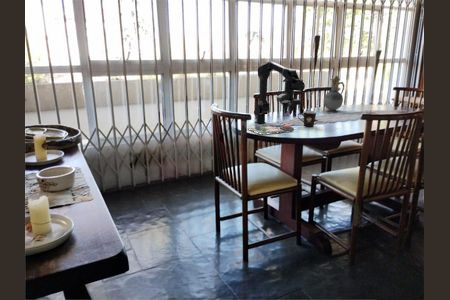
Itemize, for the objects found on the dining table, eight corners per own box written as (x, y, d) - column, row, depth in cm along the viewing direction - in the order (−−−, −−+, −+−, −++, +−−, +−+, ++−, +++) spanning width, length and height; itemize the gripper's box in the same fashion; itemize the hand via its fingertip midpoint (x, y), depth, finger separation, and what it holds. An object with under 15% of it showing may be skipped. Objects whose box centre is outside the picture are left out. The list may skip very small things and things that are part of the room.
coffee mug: (317, 126, 225) (318, 112, 222) (311, 128, 219) (312, 113, 216) (302, 123, 233) (303, 109, 230) (296, 125, 226) (297, 111, 223)
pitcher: (320, 110, 281) (324, 75, 272) (336, 109, 290) (340, 74, 281) (330, 113, 272) (334, 76, 263) (346, 111, 281) (350, 75, 272)
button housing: (279, 129, 214) (280, 126, 214) (287, 128, 217) (287, 125, 217) (285, 132, 209) (285, 129, 208) (293, 130, 212) (293, 128, 211)
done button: (281, 128, 214) (282, 125, 213) (287, 127, 216) (287, 124, 215) (286, 129, 210) (286, 126, 209) (291, 129, 212) (292, 126, 211)
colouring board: (247, 129, 214) (247, 127, 214) (270, 127, 222) (270, 125, 221) (260, 135, 201) (260, 133, 200) (284, 132, 208) (284, 130, 208)
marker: (255, 128, 212) (255, 125, 212) (258, 128, 213) (258, 124, 213) (262, 131, 205) (262, 128, 204) (265, 131, 206) (265, 127, 205)
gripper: (270, 88, 210) (269, 112, 214) (288, 91, 194) (286, 117, 198) (284, 87, 214) (283, 111, 219) (302, 91, 199) (300, 116, 203)
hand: (287, 113), depth 210 cm, fingers open, 4 cm apart
